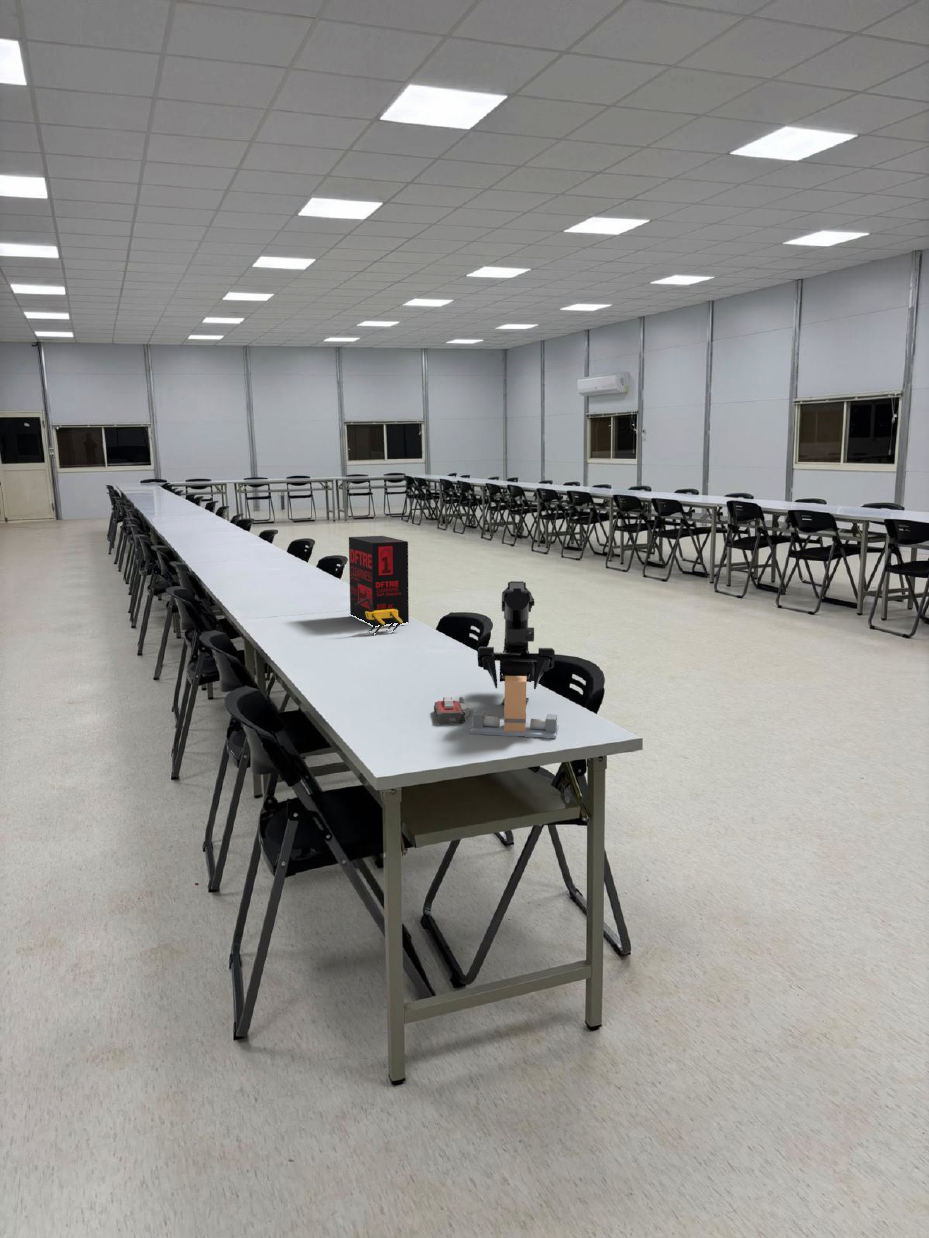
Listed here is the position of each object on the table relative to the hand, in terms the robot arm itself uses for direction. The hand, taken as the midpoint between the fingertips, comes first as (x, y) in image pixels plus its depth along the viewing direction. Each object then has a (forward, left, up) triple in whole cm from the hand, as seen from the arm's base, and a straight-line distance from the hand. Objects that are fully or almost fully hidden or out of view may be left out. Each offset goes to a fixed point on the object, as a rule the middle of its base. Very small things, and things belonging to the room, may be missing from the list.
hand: (515, 687), depth 211 cm
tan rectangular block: (+4, 0, -9) cm, 9 cm away
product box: (-125, -70, -10) cm, 144 cm away
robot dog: (-101, -64, -10) cm, 120 cm away
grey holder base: (+4, 0, -10) cm, 10 cm away
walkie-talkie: (-8, -17, -10) cm, 21 cm away
